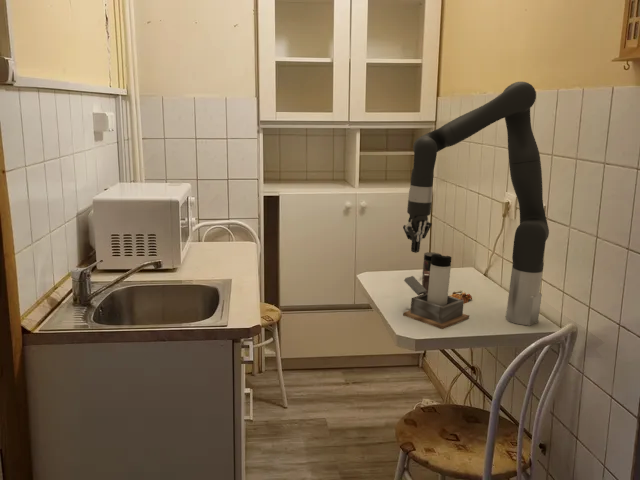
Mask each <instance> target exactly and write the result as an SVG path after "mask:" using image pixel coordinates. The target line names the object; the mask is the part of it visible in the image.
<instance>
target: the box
mask: <svg viewBox="0 0 640 480" xmlns="http://www.w3.org/2000/svg"><path fill="white" fill-rule="evenodd" d="M422 273H423V279H422V281H421V282H422V283H421V285H422V286H423V287H424V288H425V289H426V290H427V291H426V293H428V287H429V277H430V271H423V270H422ZM424 294H425V293H424Z"/></svg>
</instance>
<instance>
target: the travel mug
mask: <svg viewBox="0 0 640 480" xmlns="http://www.w3.org/2000/svg"><path fill="white" fill-rule="evenodd" d="M439 254H440V253H439ZM439 254H432V258H431V266H430V277H429V287H428V298H427V302H430V303H433V304H436V305H439V306H444V305H447V298H448V296H449V286H450V278H451V270H452V269H451V267H452V264H451V263H452V258H453V257H452V256H449V255H442V254H441V255H442V256H441V255H439Z"/></svg>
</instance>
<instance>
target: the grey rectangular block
mask: <svg viewBox="0 0 640 480" xmlns="http://www.w3.org/2000/svg"><path fill="white" fill-rule="evenodd" d="M403 281H404V283H406V284H407V285H408V286H409V287H410V288H411V290H412V291H413V292H414V293H415V294H416V295H417V296H419V295H422V294H424V293H426V291H427V290H426V289H425V288H424V287H423V286H422V283H421V282H420V281H419V280H418V279H417V278H415V276H414V275H411V276H408V277H405V278H404V280H403Z"/></svg>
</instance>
